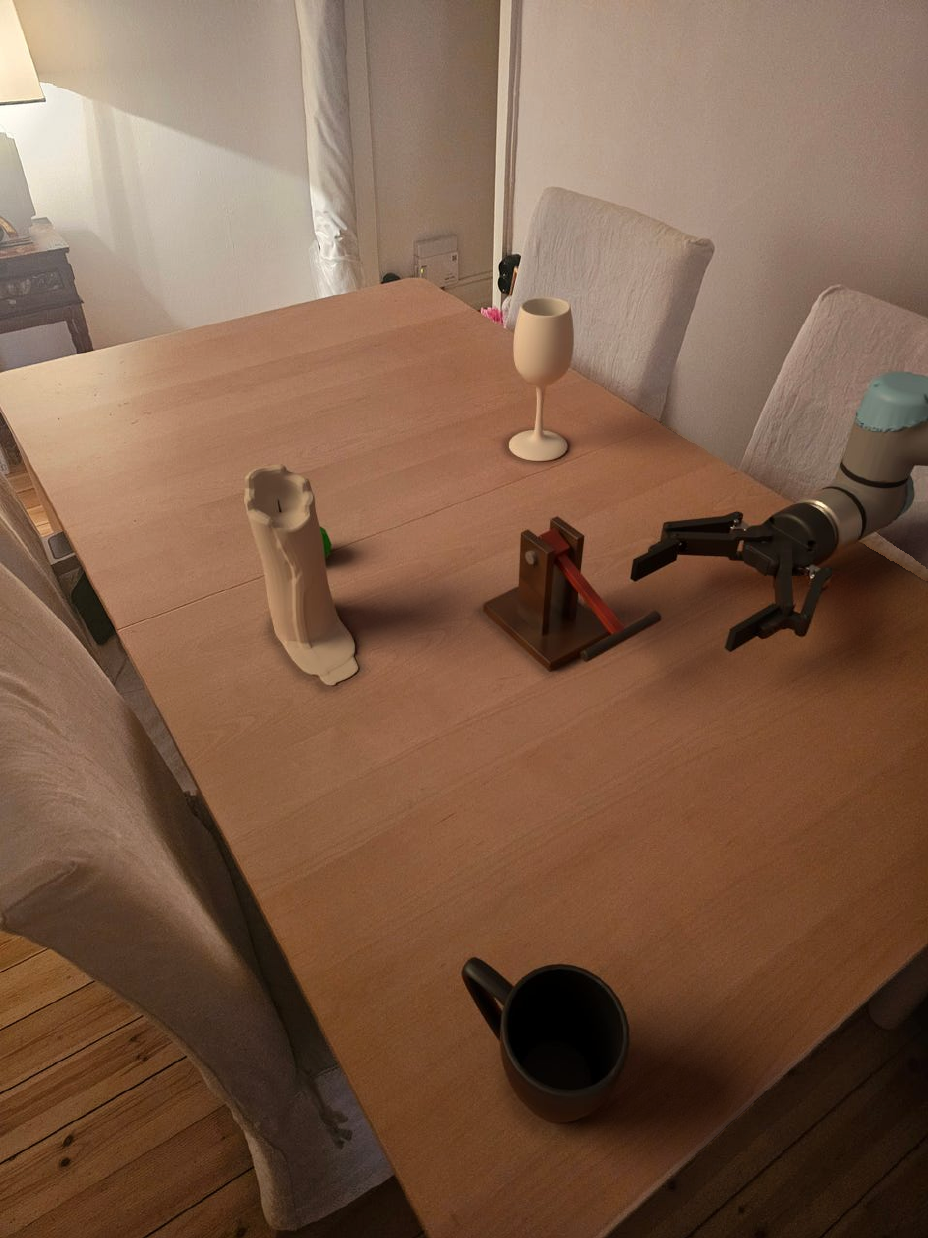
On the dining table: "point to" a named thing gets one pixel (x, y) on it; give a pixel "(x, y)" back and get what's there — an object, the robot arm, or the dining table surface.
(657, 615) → the red lever
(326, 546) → the polyhedron
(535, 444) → the wineglass
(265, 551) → the candle
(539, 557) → the rod stand
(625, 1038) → the mug
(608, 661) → the dining table surface
